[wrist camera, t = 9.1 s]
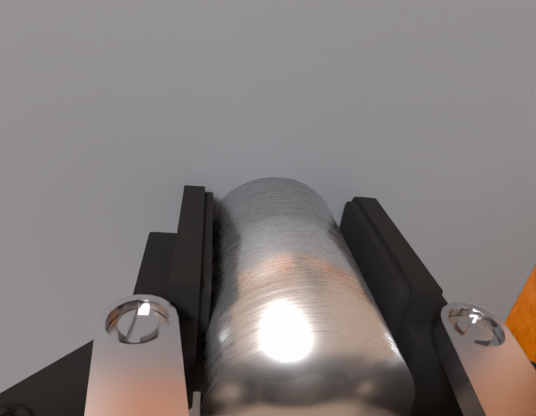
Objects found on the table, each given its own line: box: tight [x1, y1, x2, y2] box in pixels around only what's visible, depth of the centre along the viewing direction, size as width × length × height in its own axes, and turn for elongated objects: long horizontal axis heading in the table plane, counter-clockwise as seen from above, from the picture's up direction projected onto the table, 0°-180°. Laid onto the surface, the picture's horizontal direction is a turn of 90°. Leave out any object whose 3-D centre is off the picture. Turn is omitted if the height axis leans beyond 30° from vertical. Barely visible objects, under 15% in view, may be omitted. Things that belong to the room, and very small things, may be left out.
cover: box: [0, 0, 536, 416], centre depth 13 cm, size 18×18×15 cm
